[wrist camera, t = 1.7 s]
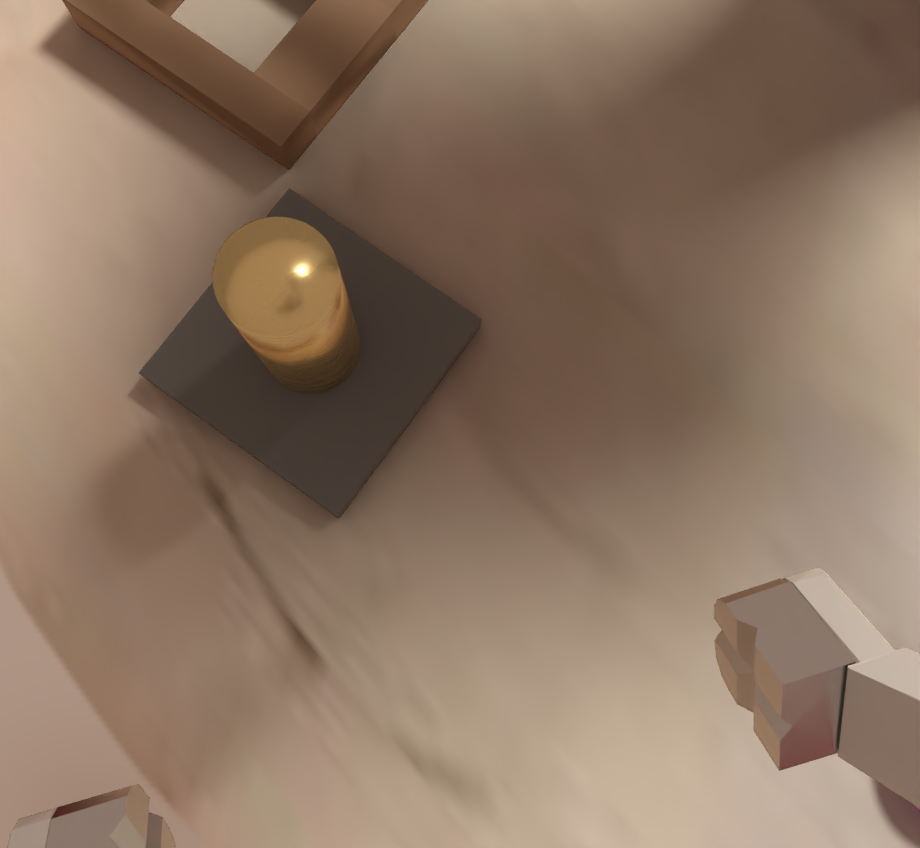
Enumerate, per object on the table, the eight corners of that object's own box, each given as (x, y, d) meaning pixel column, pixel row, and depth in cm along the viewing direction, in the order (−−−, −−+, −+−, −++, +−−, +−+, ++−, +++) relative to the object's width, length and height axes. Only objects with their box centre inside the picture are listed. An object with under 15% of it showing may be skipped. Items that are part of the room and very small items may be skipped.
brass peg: (302, 281, 36) (264, 193, 28) (380, 335, 35) (363, 262, 28) (243, 357, 35) (186, 288, 27) (321, 412, 35) (287, 359, 27)
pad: (293, 198, 37) (289, 188, 37) (480, 327, 37) (481, 319, 36) (147, 379, 36) (138, 373, 35) (339, 518, 35) (336, 516, 34)
